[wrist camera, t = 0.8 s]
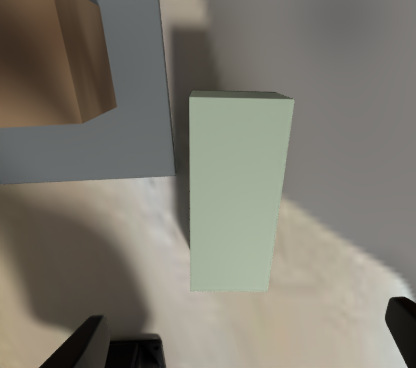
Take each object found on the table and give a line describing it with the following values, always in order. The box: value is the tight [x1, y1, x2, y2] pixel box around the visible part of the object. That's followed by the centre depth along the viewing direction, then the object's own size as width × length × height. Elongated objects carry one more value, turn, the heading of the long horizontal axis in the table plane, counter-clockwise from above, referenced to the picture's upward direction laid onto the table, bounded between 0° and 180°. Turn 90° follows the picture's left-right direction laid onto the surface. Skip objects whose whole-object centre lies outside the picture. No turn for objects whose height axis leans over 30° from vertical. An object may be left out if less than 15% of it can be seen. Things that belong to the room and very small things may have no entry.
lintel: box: [189, 90, 295, 292], centre depth 17 cm, size 5×12×4 cm, turn 179°
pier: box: [0, 0, 117, 128], centre depth 13 cm, size 5×5×5 cm
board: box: [0, 0, 176, 184], centre depth 15 cm, size 14×18×1 cm
